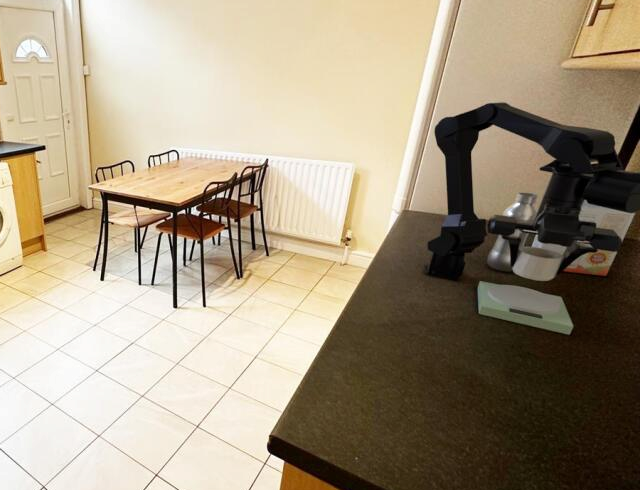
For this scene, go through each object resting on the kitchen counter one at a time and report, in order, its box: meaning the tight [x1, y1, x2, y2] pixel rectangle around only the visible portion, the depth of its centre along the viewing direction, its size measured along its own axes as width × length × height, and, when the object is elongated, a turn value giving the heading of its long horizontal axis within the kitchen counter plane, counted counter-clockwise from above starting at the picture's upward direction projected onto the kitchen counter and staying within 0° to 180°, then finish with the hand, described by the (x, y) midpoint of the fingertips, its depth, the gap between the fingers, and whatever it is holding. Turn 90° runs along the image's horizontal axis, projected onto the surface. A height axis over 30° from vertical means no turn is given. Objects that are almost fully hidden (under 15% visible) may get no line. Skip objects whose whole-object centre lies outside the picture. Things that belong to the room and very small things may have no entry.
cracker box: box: [531, 200, 637, 277], centre depth 103 cm, size 14×6×21 cm, turn 65°
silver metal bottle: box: [486, 192, 538, 272], centre depth 104 cm, size 6×7×20 cm
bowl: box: [512, 246, 563, 282], centre depth 86 cm, size 7×7×5 cm
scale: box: [477, 280, 574, 336], centre depth 89 cm, size 14×14×3 cm
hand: (533, 270), depth 86 cm, fingers closed on bowl, 6 cm apart
